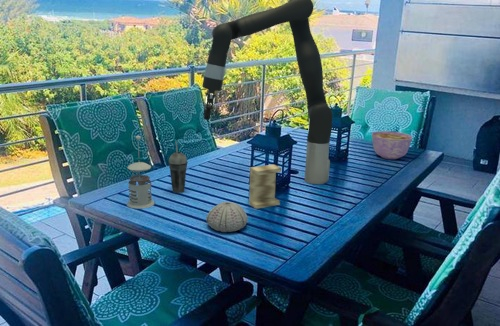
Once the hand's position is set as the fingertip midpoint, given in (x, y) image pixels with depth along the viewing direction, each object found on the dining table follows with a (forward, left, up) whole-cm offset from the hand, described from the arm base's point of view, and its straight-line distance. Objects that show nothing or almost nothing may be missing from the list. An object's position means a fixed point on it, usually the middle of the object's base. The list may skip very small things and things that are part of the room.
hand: (206, 117), depth 187 cm
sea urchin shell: (+12, +42, -28) cm, 52 cm away
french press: (+31, +10, -27) cm, 42 cm away
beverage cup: (+14, +4, -27) cm, 31 cm away
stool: (-9, +31, -27) cm, 42 cm away
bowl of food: (-102, 0, -27) cm, 106 cm away
